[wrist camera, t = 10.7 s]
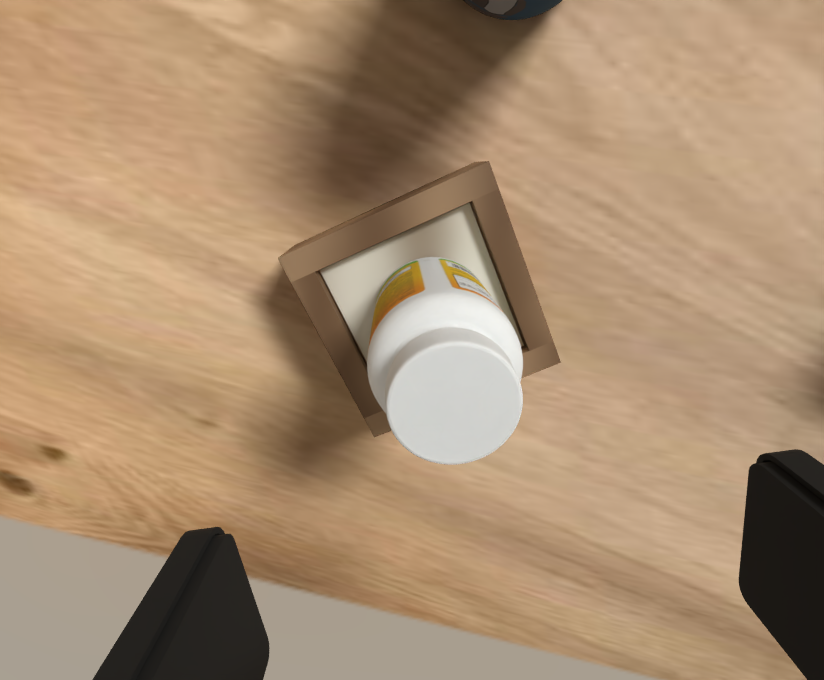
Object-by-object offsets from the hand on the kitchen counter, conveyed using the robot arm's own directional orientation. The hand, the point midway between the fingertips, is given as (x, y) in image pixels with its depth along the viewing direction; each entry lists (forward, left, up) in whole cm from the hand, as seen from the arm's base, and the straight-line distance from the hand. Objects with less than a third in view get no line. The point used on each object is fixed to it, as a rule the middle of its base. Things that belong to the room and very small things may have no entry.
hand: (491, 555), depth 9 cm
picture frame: (0, 0, -18) cm, 18 cm away
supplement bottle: (0, 0, -15) cm, 15 cm away
